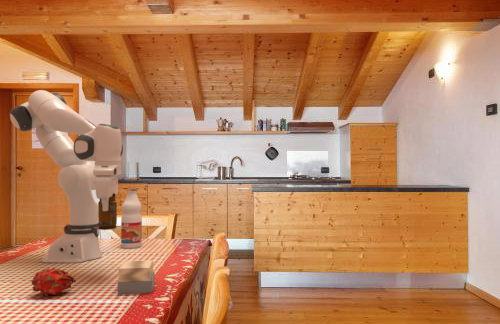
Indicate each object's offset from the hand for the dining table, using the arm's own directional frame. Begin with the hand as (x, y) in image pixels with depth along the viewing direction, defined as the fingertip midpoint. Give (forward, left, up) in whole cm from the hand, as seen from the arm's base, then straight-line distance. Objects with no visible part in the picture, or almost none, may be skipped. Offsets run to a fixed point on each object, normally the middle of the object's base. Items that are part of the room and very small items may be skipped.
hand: (107, 209), depth 130 cm
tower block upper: (+12, -16, -20) cm, 28 cm away
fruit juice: (+2, +49, -23) cm, 55 cm away
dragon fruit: (-12, -17, -23) cm, 31 cm away
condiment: (0, -1, -6) cm, 7 cm away
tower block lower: (+12, -15, -24) cm, 31 cm away
